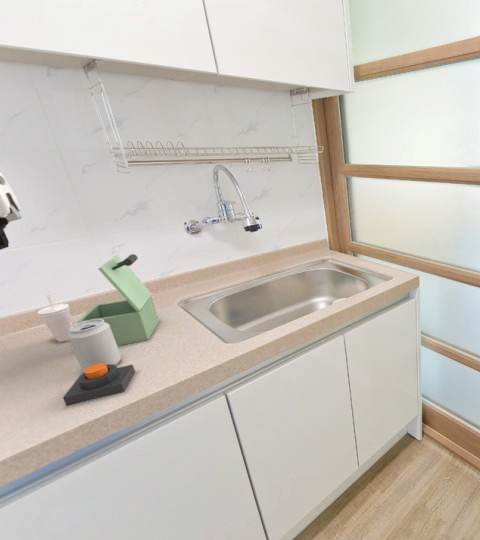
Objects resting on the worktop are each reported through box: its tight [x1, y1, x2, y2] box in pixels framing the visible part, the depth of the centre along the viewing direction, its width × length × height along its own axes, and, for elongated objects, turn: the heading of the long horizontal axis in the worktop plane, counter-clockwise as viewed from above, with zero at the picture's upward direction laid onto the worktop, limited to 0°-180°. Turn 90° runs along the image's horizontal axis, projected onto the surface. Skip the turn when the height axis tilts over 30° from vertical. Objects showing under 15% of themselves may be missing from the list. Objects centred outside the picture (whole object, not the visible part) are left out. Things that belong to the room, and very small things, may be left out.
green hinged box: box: [75, 295, 160, 347], centre depth 96 cm, size 14×13×9 cm
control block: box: [62, 364, 136, 407], centre depth 74 cm, size 10×8×4 cm
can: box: [68, 319, 122, 373], centre depth 81 cm, size 8×8×12 cm
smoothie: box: [37, 294, 73, 343], centre depth 94 cm, size 6×6×14 cm
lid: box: [97, 253, 153, 312], centre depth 94 cm, size 14×13×6 cm
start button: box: [84, 363, 108, 379], centre depth 73 cm, size 4×4×2 cm
